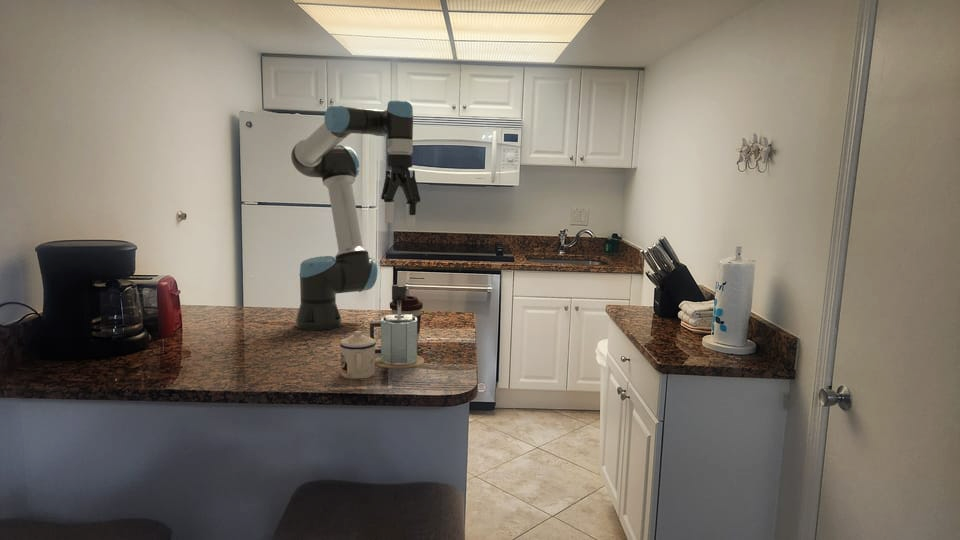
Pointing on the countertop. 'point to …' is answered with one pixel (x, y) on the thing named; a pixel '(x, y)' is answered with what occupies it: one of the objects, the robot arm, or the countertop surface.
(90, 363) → the countertop surface
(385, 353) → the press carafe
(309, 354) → the countertop surface
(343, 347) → the teacup with lid
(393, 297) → the plunger
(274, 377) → the countertop surface
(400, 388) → the countertop surface
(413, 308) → the coffee cup
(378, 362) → the cork trivet
